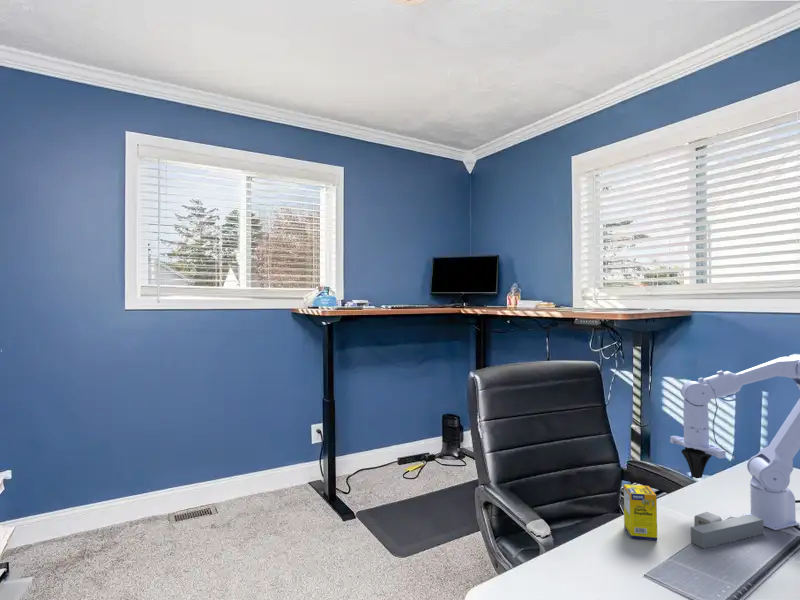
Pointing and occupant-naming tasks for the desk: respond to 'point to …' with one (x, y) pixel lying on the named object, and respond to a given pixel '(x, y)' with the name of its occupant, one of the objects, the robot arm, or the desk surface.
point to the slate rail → (726, 530)
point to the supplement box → (640, 512)
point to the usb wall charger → (705, 518)
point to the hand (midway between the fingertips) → (697, 477)
